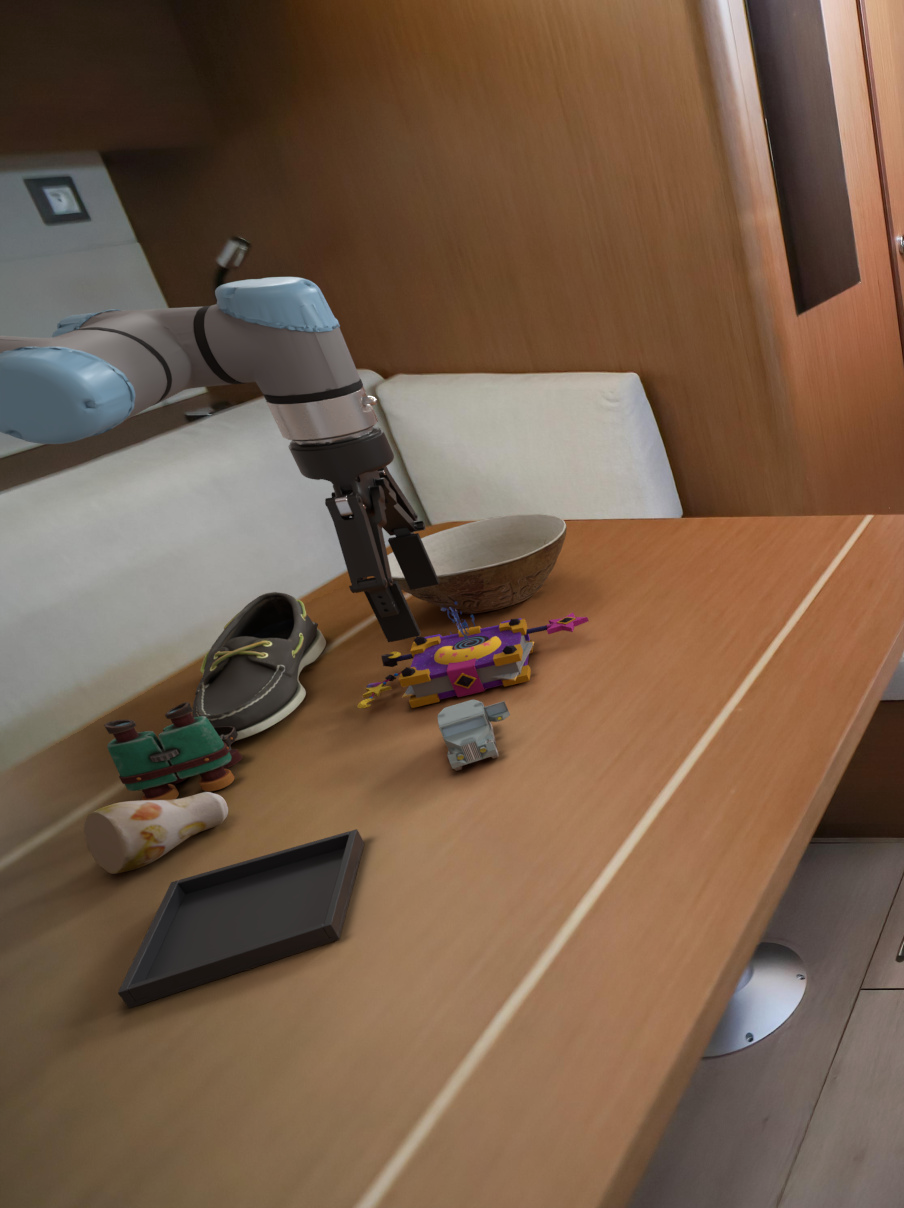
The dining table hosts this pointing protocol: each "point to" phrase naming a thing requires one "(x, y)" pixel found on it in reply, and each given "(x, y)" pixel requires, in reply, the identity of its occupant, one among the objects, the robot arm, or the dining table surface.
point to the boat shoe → (258, 665)
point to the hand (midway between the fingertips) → (415, 610)
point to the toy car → (470, 731)
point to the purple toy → (466, 660)
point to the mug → (148, 828)
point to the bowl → (489, 562)
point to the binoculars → (173, 754)
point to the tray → (245, 917)
